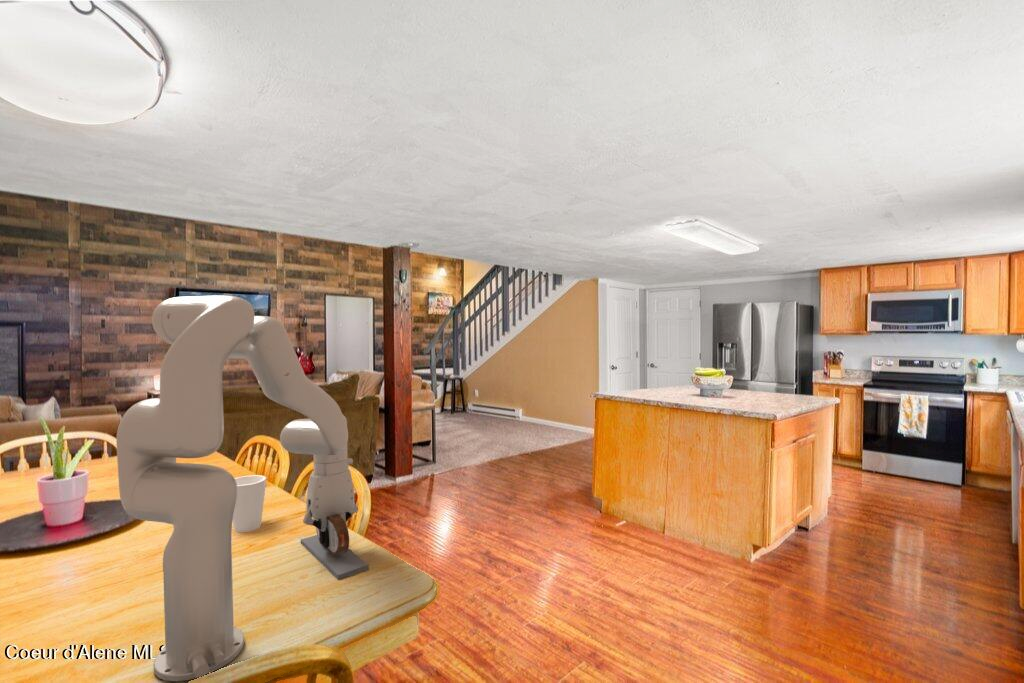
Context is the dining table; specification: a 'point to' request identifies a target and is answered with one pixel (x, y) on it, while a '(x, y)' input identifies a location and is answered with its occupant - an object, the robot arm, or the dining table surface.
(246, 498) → the foam cup
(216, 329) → the robot arm
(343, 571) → the charcoal mat
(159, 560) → the dining table surface
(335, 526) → the tin
